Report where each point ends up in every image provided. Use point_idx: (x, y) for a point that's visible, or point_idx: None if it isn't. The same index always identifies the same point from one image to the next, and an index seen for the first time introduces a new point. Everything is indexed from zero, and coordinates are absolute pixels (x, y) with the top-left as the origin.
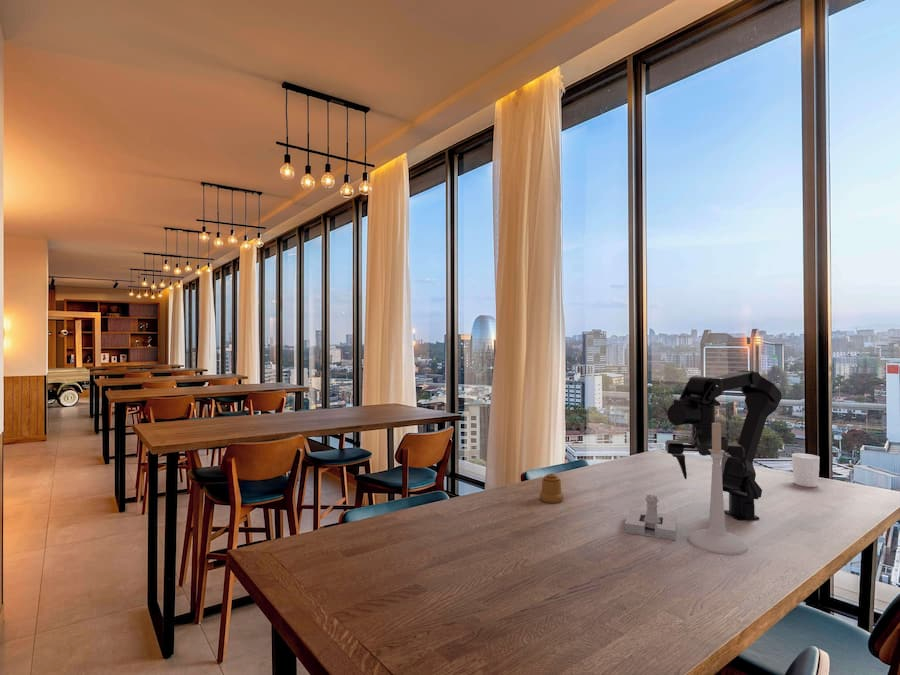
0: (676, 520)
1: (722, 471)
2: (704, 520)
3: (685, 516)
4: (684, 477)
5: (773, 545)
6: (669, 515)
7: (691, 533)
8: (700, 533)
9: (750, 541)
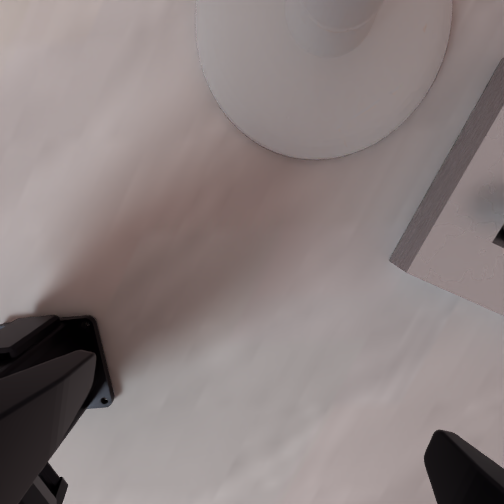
0: (399, 260)
1: (11, 455)
2: (239, 311)
3: (299, 354)
4: (466, 446)
5: (69, 18)
6: (441, 272)
7: (421, 85)
8: (410, 25)
9: (152, 65)
